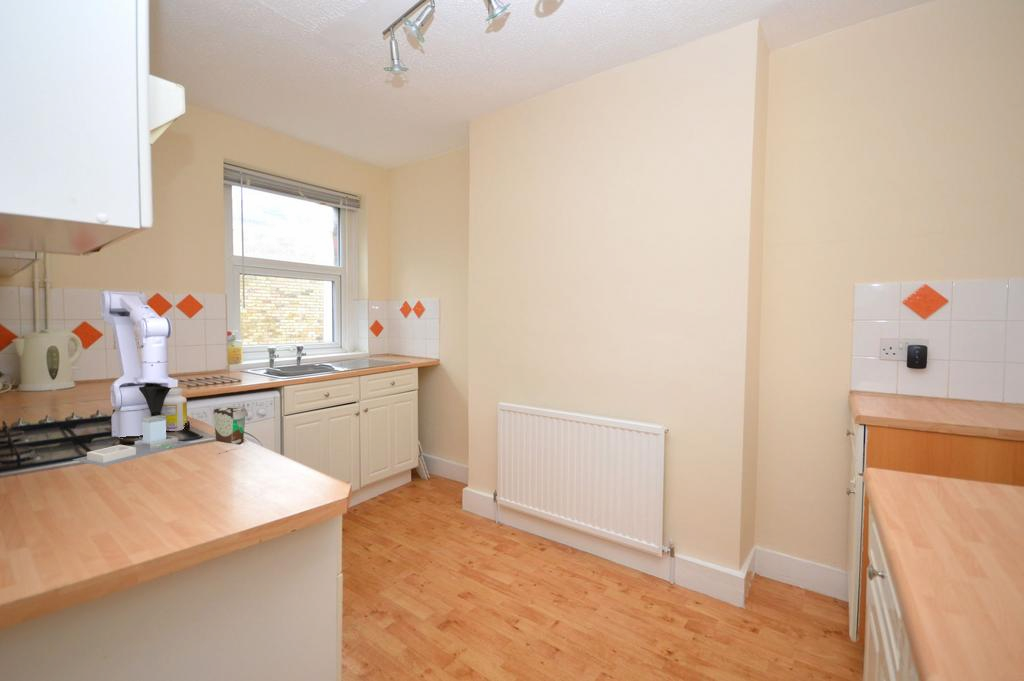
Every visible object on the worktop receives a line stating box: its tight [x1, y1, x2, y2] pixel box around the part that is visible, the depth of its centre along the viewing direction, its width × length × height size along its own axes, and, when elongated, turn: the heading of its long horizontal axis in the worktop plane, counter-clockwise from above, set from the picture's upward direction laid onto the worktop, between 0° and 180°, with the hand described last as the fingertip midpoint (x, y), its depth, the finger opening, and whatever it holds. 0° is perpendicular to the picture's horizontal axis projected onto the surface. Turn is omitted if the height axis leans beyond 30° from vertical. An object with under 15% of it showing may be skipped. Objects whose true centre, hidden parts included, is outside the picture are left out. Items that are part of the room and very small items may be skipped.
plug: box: [142, 414, 167, 443], centre depth 122 cm, size 3×4×8 cm
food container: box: [212, 405, 249, 446], centre depth 131 cm, size 12×6×10 cm, turn 58°
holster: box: [86, 444, 136, 463], centre depth 113 cm, size 6×7×2 cm
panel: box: [72, 440, 193, 467], centre depth 118 cm, size 12×21×1 cm, turn 161°
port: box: [134, 434, 179, 451], centre depth 122 cm, size 8×7×2 cm
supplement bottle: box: [160, 388, 188, 432], centre depth 142 cm, size 7×7×13 cm
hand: (155, 411), depth 122 cm, fingers closed
